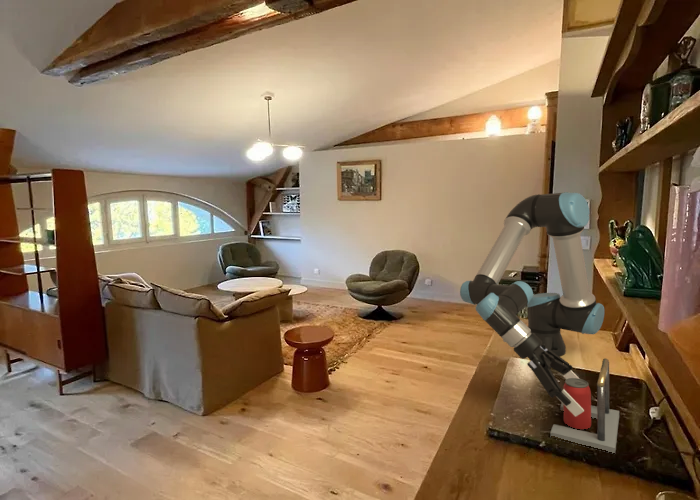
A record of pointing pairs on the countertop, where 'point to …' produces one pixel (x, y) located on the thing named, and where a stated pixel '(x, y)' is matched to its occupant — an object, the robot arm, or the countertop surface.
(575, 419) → the beer can
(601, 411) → the hook arm
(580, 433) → the grey u-shaped base plate
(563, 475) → the countertop surface
